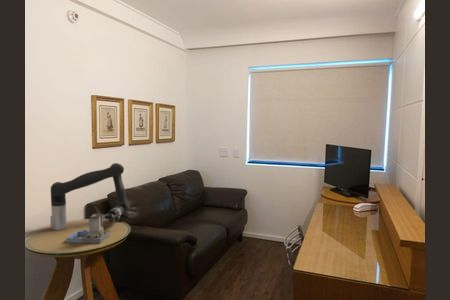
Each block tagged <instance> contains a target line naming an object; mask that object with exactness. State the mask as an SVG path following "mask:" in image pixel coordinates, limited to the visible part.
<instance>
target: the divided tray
mask: <svg viewBox="0 0 450 300" xmlns="http://www.w3.org/2000/svg"><path fill="white" fill-rule="evenodd" d="M81 236H82V237H81ZM109 237H110V231H104V235H103V236H102V237H100V238H90V236H89V230H88V229H82V230H77V231H75V232H73V233H72V234H70V235H68V236H67V237H66V243H76V244H102V243H103V242H104V241H105V240H107V239H108V238H109Z"/></svg>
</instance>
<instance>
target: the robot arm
mask: <svg viewBox="0 0 450 300" xmlns="http://www.w3.org/2000/svg"><path fill="white" fill-rule="evenodd" d="M124 171H125V168H124V166H123V165H122V164H121V163H117V162H116V163H115V162H114V163H112V164H111V165H110V166H109V167H107V168H104V169H99V170H94V171H89V172H86V173H84V174H81V175H78V176H77V177H75V178H73V179H71V180H69V181H64V182H61V181H56V182H54V183H52V185H51V186H50V203H51V215H50V217H49V218H50V230H53V231H60V230H65V229H66V228H67V227H68V226H67V225H68V223H67V200H66V194H68V193H70V192H73V191H74V190H75V191H76V190H79V189H81V188H85V187H89V186H92V185H94V184H97V183H100V182H101V181H104V180H107V179H110V178H112V180H113V184H114V189H115V195H116V201H118V202H122V203H118V204H116V206H115V207H113V208H112V209H110V210H109V211H107V213H106V214H103V221H106V220H109V222H110V223H112V222H114V221H119V220H120V219H121V215H123V214H124V213H128V212H130V210H131V205H130V203H129V201H128V197H127V195H126V194H127V193H126V190H125V186H124V182H123V178H122V174H123V173H124Z"/></svg>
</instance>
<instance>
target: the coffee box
mask: <svg viewBox="0 0 450 300" xmlns="http://www.w3.org/2000/svg"><path fill="white" fill-rule="evenodd" d="M103 215H104V213H93V214H91V215H90V216H89V217H88V225H89V227H88V228H89V230H88V231H89V236H90V238H100V237H102V236H103V235H104V232H105V231H104V220H103Z"/></svg>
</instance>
